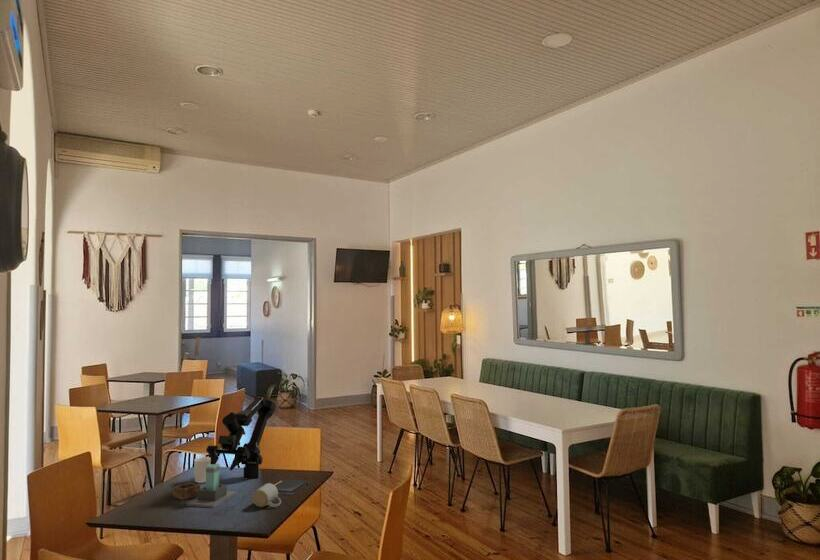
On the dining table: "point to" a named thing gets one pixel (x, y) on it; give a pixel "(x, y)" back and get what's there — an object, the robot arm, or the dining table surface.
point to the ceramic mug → (266, 496)
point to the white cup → (201, 468)
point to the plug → (212, 476)
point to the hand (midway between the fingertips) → (220, 469)
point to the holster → (186, 490)
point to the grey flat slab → (289, 486)
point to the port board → (211, 497)
